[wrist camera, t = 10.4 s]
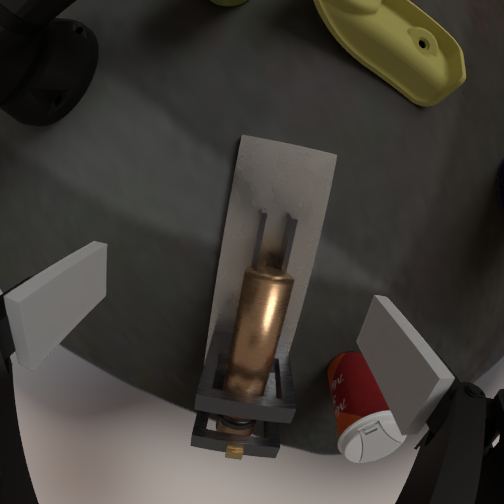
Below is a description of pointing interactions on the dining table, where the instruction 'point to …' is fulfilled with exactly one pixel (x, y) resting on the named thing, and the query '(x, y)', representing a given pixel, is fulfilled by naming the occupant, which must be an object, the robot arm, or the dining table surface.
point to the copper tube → (255, 338)
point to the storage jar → (501, 183)
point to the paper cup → (361, 410)
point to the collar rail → (269, 255)
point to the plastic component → (397, 46)
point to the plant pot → (228, 2)
